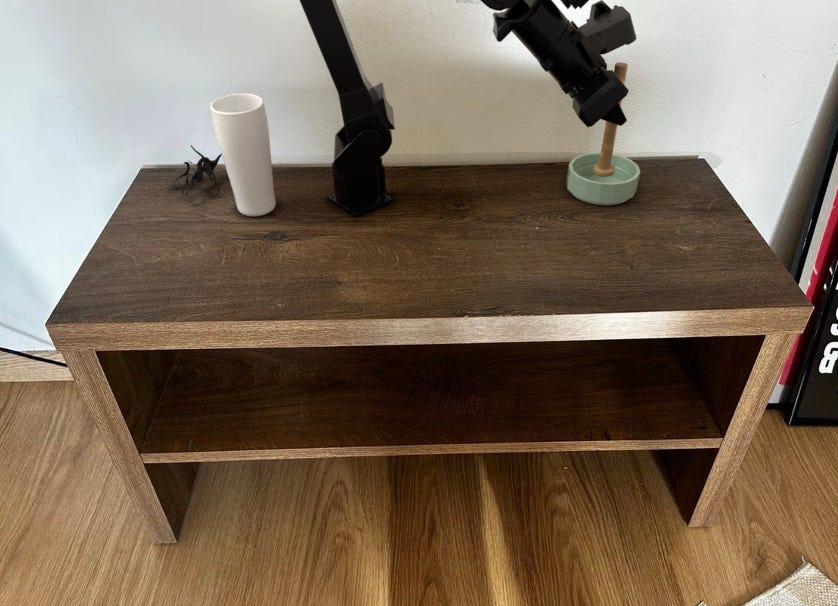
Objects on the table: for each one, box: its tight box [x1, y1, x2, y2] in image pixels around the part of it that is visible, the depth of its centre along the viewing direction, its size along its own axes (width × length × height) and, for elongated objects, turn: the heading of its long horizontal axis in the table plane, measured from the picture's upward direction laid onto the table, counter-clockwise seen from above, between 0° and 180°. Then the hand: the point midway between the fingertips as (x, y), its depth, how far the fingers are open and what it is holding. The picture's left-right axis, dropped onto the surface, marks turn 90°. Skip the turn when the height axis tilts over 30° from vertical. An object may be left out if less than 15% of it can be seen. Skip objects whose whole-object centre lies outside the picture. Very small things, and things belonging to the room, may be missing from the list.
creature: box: [173, 144, 222, 198], centre depth 101 cm, size 8×5×8 cm
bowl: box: [566, 152, 641, 206], centre depth 100 cm, size 10×10×4 cm
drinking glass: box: [209, 93, 277, 218], centre depth 93 cm, size 7×7×15 cm
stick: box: [593, 61, 629, 177], centre depth 95 cm, size 3×3×15 cm
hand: (621, 120), depth 95 cm, fingers closed on stick
